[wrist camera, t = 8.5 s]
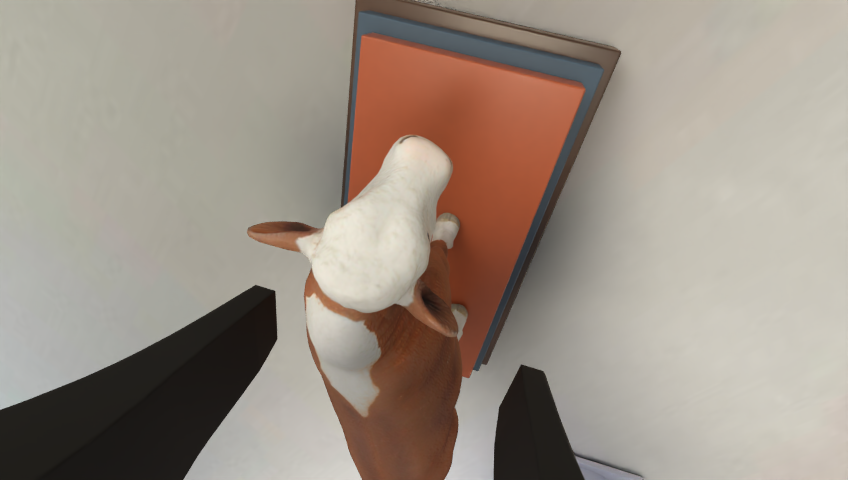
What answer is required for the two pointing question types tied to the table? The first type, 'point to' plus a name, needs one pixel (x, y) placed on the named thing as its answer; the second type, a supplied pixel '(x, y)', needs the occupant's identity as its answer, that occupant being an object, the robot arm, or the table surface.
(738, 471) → the table surface
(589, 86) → the middle plank
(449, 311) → the bull figurine
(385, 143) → the top plank
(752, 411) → the table surface
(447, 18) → the bottom plank
